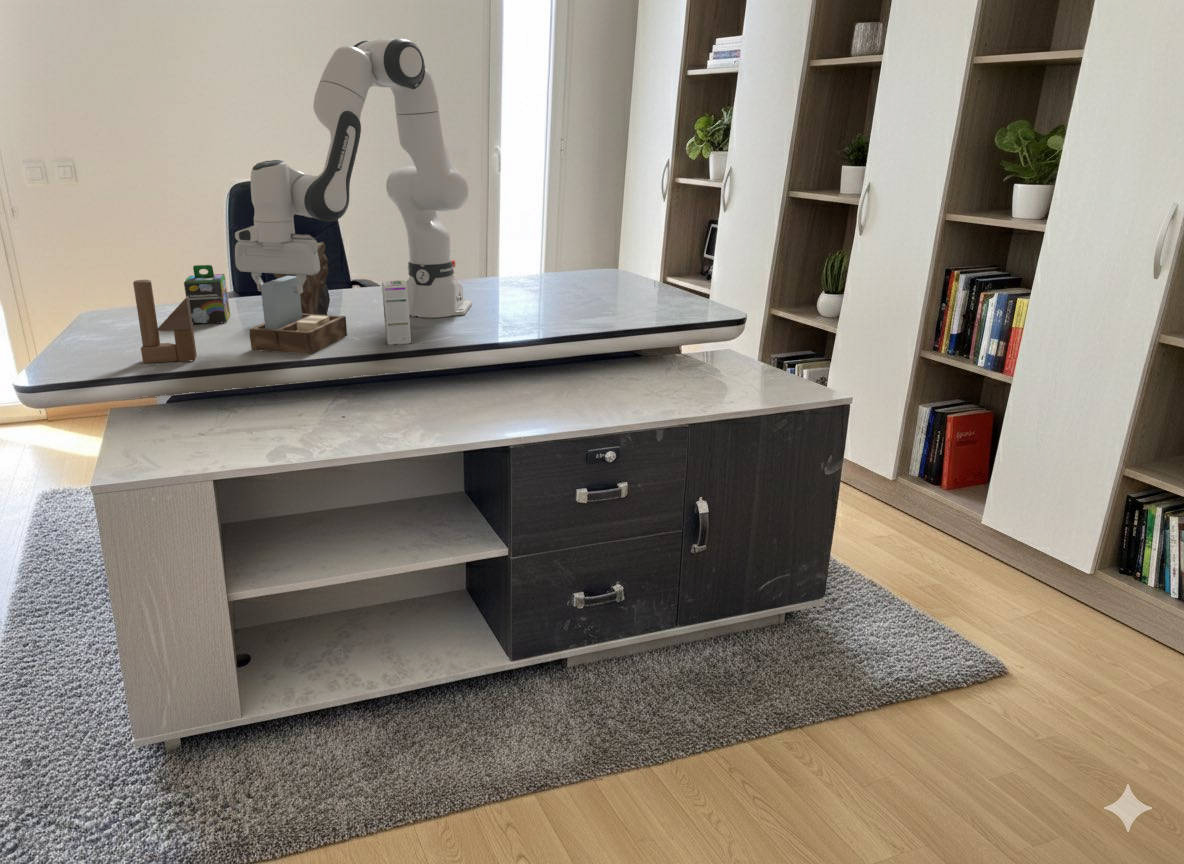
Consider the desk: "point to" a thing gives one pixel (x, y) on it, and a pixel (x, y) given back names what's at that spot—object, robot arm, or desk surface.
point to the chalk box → (207, 296)
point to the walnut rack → (298, 336)
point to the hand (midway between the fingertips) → (280, 292)
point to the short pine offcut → (311, 322)
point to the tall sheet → (281, 302)
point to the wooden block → (163, 328)
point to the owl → (314, 287)
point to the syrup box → (396, 312)
